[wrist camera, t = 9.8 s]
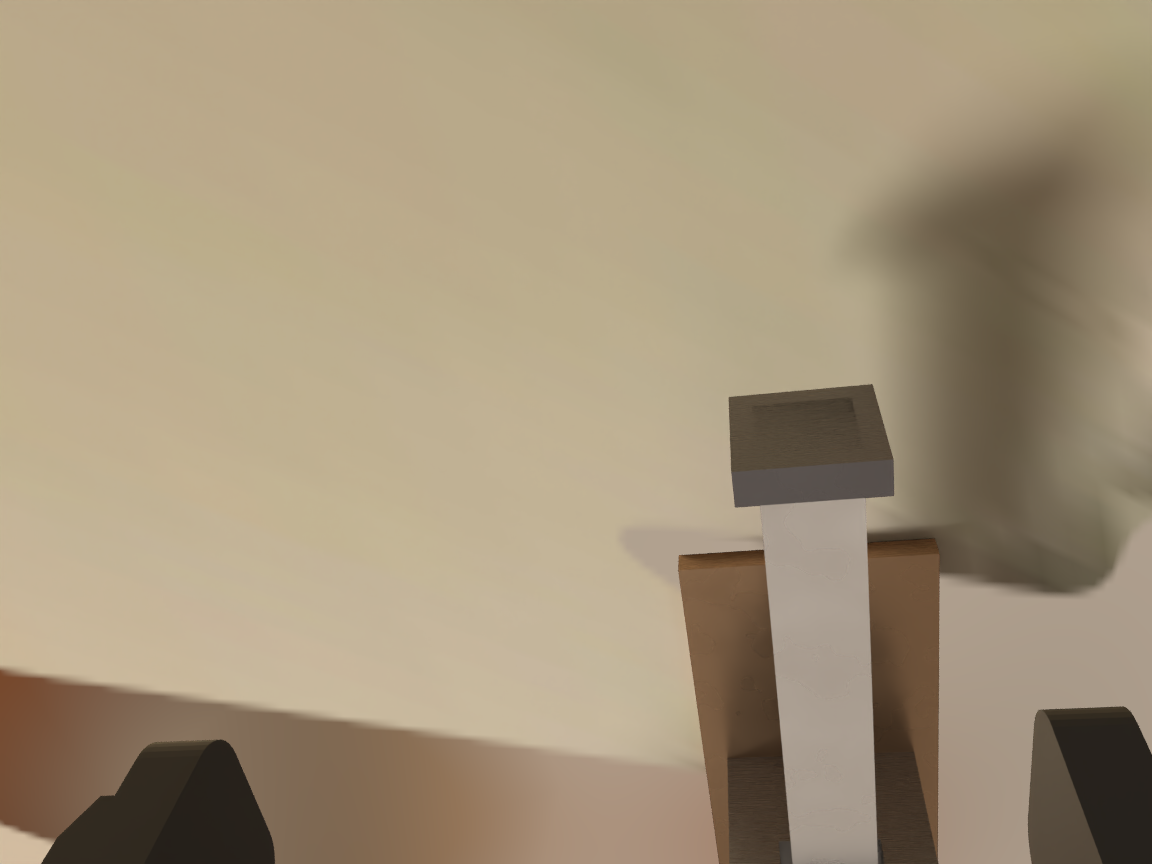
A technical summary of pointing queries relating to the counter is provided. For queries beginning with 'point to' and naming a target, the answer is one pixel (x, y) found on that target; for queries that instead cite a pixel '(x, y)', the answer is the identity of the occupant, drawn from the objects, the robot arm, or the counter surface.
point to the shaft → (818, 599)
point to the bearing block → (751, 715)
